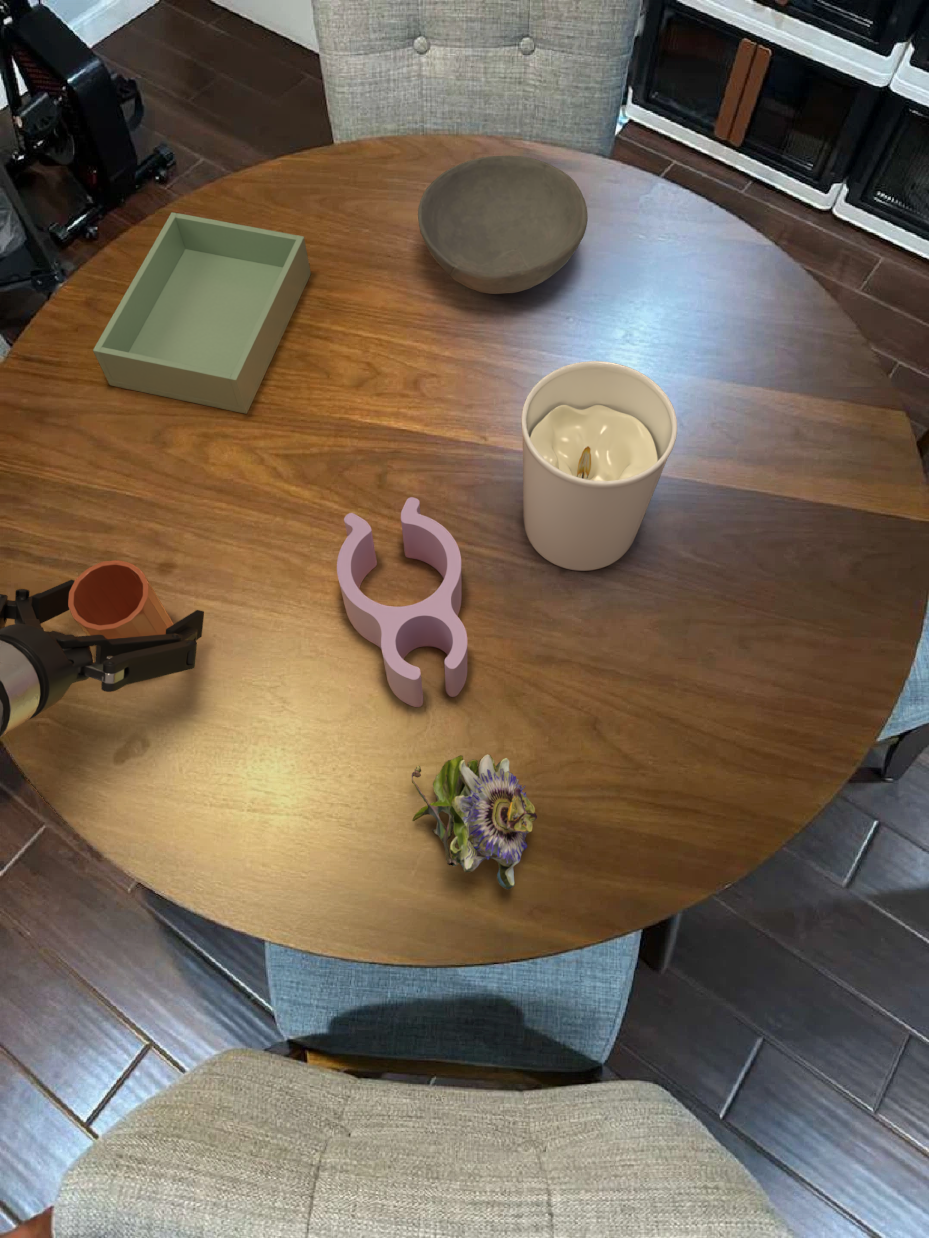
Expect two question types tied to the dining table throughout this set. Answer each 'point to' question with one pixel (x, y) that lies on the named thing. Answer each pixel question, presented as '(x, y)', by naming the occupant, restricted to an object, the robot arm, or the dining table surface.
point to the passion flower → (481, 814)
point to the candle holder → (592, 460)
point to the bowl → (502, 222)
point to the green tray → (205, 312)
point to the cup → (117, 602)
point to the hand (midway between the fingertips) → (136, 607)
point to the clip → (415, 622)
